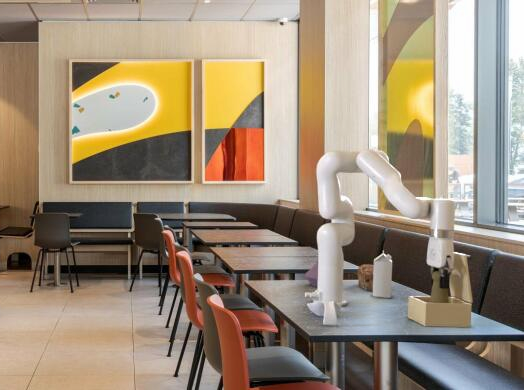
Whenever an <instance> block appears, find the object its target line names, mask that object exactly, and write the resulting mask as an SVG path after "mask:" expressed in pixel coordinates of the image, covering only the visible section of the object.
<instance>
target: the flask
mask: <svg viewBox="0 0 524 390" xmlns="http://www.w3.org/2000/svg"><path fill="white" fill-rule="evenodd" d="M304 276H305V278H306V279H307V281H308V282H309V283H310V284H311V285H310V286H312V287H316V288H317V287H318V257H317V259H316V262H315V264H314V265H313V266H312V267H311V268H310V269H309V270H308V271H306V273H304Z"/></svg>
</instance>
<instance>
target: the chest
mask: <svg viewBox="0 0 524 390" xmlns="http://www.w3.org/2000/svg"><path fill="white" fill-rule="evenodd" d="M430 298H431V295H430V296H429V295H428V296H426V295H425V296H424V295H422V296H421V295H408V305H407V306H408V308H407V313H408V314H407V319H409V320H411V321H414V322H416V323H418V324H420V325H422V326H424V327H443V328H444V327H448V328H449V327H450V328H472V308H473V307H472V303H470V302H467V301H464V300H461V299H459V298H456V297H453V296H448V299H449V303H430Z"/></svg>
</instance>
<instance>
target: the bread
mask: <svg viewBox="0 0 524 390" xmlns="http://www.w3.org/2000/svg"><path fill="white" fill-rule="evenodd" d="M373 272H374V264H369V263H367V264H361V265H360V266H359V267H358V269H357V282H358V285H359V286H360V287H361V288H362V289H364V290H365V291H369V292H373Z"/></svg>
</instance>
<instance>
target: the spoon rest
mask: <svg viewBox="0 0 524 390" xmlns="http://www.w3.org/2000/svg"><path fill="white" fill-rule="evenodd" d="M306 305H307V308H308V309H309V311H310V312H312V313H313V314H314V315H315V316H318V317H323V320H322V325H323V326H339V321H338V315H337V313H339V312H340V310H341V308H342V306H341V305H339V304H337V303H335V302H334V301H331V302H326V301H318V302H315V303H314V302H307V303H306Z"/></svg>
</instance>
